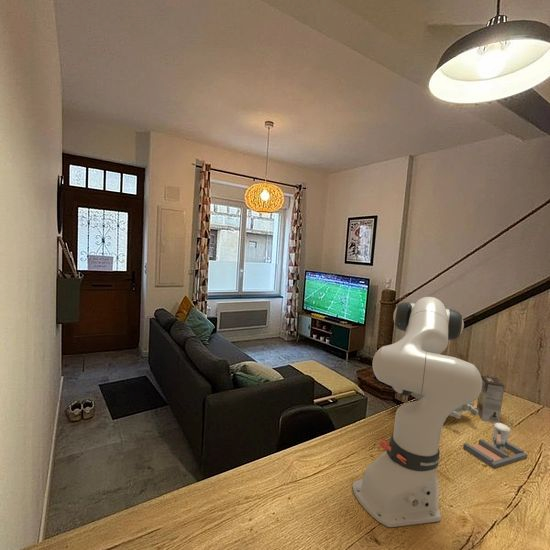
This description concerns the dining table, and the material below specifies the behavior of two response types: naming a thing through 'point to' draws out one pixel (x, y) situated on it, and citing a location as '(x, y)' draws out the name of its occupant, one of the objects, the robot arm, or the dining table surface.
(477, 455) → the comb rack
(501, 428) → the milkshake
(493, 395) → the coffee box
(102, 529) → the dining table surface
